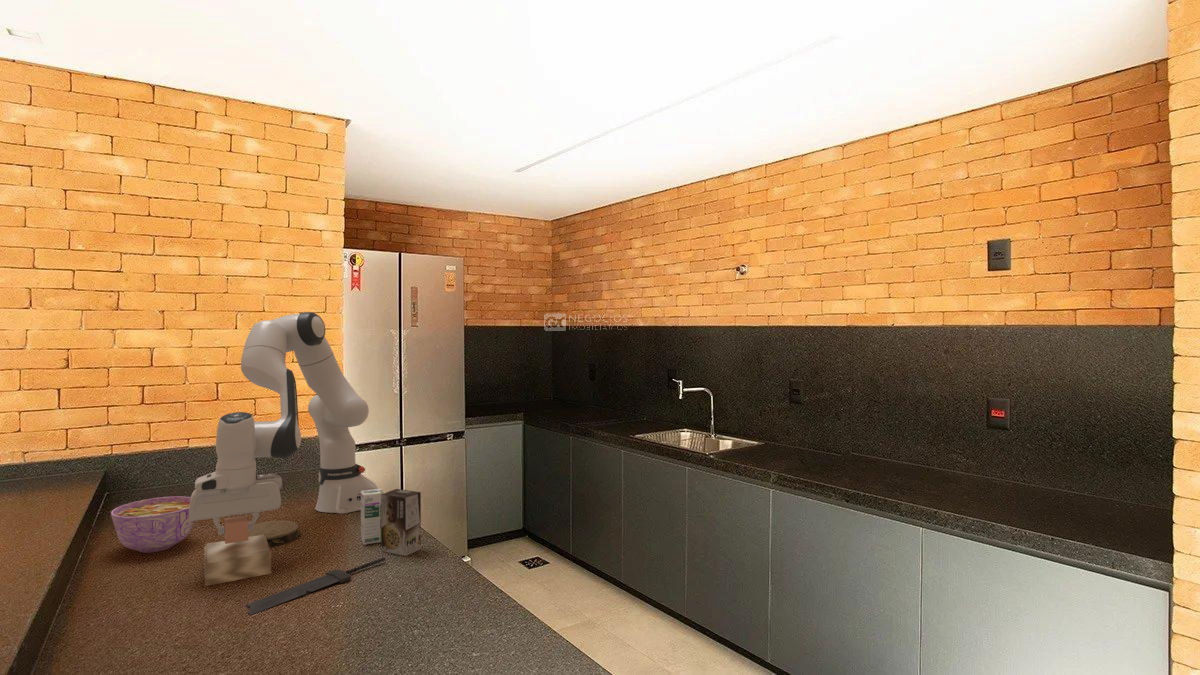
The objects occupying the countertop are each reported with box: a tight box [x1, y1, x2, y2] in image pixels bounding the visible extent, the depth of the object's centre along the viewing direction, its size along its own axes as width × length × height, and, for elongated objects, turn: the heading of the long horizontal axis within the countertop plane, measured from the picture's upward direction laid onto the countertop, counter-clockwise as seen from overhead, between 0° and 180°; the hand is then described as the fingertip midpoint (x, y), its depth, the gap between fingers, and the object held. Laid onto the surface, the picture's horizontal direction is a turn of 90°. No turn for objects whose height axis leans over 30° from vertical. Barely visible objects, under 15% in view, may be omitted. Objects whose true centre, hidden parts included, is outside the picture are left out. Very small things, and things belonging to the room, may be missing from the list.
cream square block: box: [203, 535, 272, 587], centre depth 157 cm, size 14×14×6 cm
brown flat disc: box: [248, 519, 300, 548], centre depth 180 cm, size 16×16×3 cm
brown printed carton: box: [381, 488, 422, 557], centre depth 172 cm, size 9×6×16 cm
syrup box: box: [360, 488, 384, 546], centre depth 179 cm, size 6×6×14 cm
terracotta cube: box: [223, 515, 249, 544], centre depth 157 cm, size 5×5×5 cm
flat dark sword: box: [245, 556, 386, 616], centre depth 149 cm, size 7×35×2 cm, turn 143°
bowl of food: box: [110, 495, 195, 554], centre depth 172 cm, size 20×20×12 cm
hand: (236, 531), depth 157 cm, fingers closed on terracotta cube, 5 cm apart
